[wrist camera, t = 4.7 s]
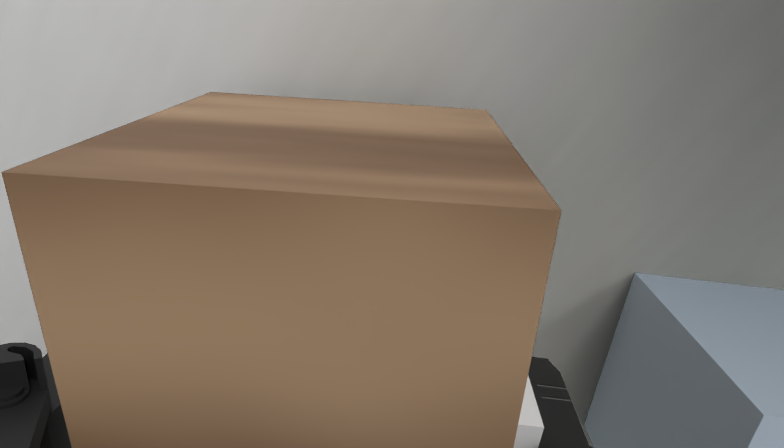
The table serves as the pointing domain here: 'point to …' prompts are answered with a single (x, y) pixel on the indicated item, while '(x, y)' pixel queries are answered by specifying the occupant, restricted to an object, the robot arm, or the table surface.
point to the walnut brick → (288, 275)
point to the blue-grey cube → (693, 368)
